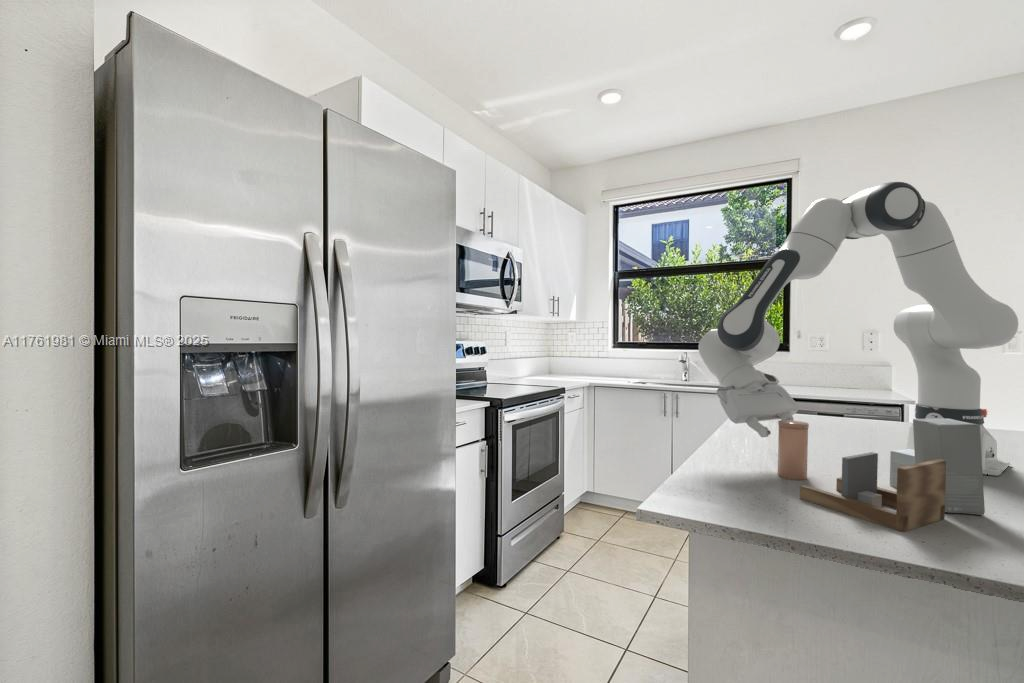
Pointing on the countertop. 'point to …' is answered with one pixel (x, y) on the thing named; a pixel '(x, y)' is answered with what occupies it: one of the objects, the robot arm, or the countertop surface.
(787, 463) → the jar
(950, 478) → the skincare box
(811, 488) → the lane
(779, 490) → the countertop surface
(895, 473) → the skincare box
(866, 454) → the pusher
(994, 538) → the countertop surface
